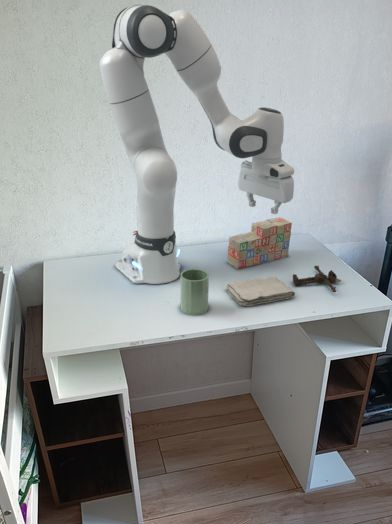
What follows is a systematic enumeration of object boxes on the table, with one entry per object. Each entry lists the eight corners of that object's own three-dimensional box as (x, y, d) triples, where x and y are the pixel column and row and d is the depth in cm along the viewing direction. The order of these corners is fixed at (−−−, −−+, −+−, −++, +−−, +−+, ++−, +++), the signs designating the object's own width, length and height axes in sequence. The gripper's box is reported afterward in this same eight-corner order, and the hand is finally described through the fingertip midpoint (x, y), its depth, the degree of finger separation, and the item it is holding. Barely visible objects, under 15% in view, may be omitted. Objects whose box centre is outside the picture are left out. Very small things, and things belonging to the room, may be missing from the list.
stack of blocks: (238, 269, 166) (240, 234, 159) (227, 262, 171) (228, 227, 164) (288, 256, 176) (292, 222, 169) (276, 250, 180) (280, 216, 173)
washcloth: (223, 290, 154) (224, 281, 152) (275, 281, 159) (276, 272, 158) (240, 308, 145) (241, 299, 143) (295, 298, 150) (296, 289, 148)
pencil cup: (175, 307, 145) (174, 274, 139) (195, 298, 149) (195, 266, 144) (193, 317, 140) (193, 283, 134) (213, 308, 145) (214, 275, 139)
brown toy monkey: (285, 263, 163) (329, 257, 164) (285, 275, 166) (328, 269, 167) (303, 289, 149) (351, 282, 150) (302, 301, 151) (349, 294, 152)
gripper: (234, 161, 160) (232, 204, 168) (285, 174, 148) (281, 220, 155) (248, 157, 164) (245, 200, 171) (298, 170, 151) (294, 215, 159)
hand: (263, 209), depth 163 cm, fingers open, 8 cm apart
